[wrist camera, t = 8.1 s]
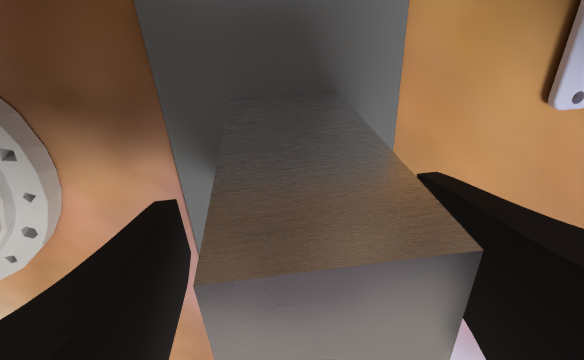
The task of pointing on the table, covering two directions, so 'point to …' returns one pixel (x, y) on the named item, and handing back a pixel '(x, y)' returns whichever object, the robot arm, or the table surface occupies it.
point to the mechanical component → (24, 192)
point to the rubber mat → (265, 68)
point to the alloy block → (325, 241)
